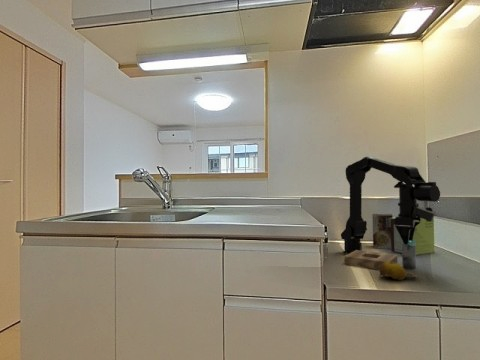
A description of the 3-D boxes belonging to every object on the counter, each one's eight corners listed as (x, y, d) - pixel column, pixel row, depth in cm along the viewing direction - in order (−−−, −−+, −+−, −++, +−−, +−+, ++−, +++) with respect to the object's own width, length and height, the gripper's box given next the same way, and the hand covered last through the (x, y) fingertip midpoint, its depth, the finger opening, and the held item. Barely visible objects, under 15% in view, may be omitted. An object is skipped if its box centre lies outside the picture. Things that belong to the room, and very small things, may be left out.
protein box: (435, 252, 139) (434, 217, 139) (410, 255, 133) (410, 219, 133) (413, 248, 148) (413, 215, 148) (390, 251, 142) (389, 217, 142)
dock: (344, 263, 121) (344, 256, 121) (356, 256, 132) (356, 249, 132) (388, 270, 111) (388, 262, 111) (397, 262, 122) (397, 255, 122)
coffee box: (393, 246, 151) (392, 213, 151) (393, 249, 145) (393, 215, 145) (373, 245, 155) (372, 213, 155) (372, 247, 149) (372, 214, 149)
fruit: (420, 278, 101) (420, 263, 101) (401, 283, 95) (400, 267, 95) (389, 270, 110) (389, 256, 110) (369, 275, 104) (369, 260, 104)
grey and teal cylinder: (401, 268, 114) (400, 241, 114) (403, 265, 118) (403, 239, 118) (414, 270, 111) (414, 242, 112) (416, 267, 115) (416, 240, 115)
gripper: (429, 202, 103) (430, 249, 102) (436, 199, 117) (437, 240, 117) (392, 201, 110) (393, 245, 109) (404, 198, 124) (404, 237, 124)
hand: (408, 242), depth 115 cm, fingers open, 9 cm apart
